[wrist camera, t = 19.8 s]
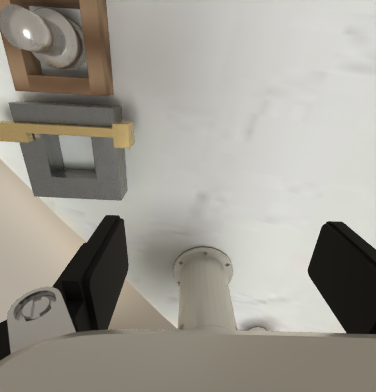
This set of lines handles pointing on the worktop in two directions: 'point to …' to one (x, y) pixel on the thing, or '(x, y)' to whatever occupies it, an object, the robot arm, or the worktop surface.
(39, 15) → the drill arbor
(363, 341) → the robot arm
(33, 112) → the spindle block
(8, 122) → the brass key
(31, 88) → the frame
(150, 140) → the worktop surface
